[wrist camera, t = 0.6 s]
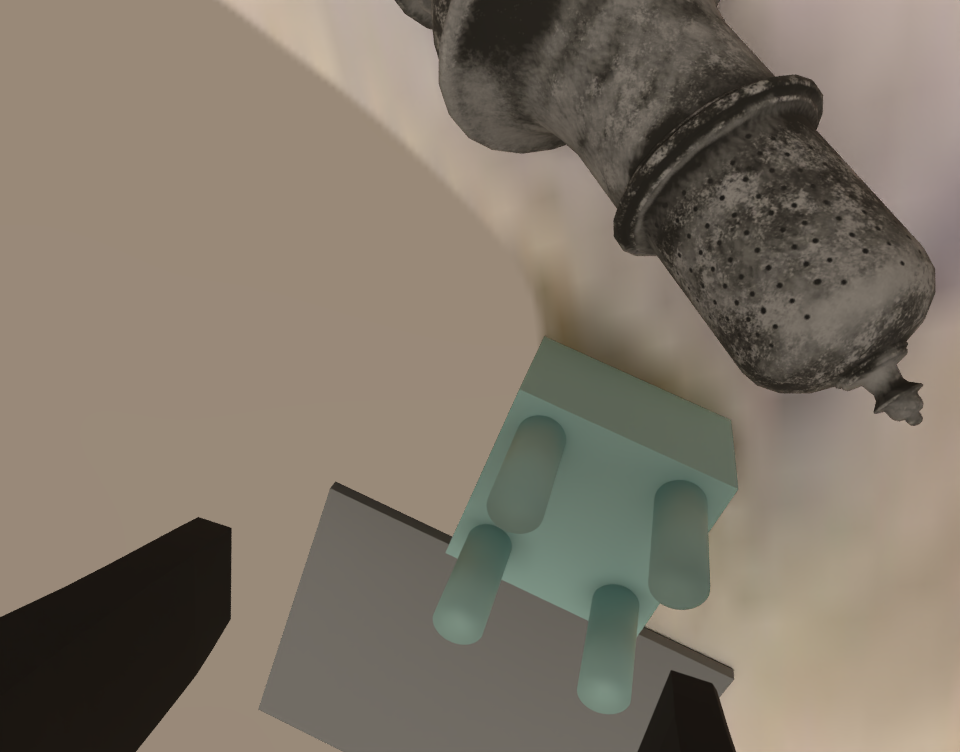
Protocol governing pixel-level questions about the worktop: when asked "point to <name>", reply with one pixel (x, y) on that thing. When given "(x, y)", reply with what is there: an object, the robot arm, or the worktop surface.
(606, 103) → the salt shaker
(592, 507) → the stool
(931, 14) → the worktop surface
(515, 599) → the mat
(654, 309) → the worktop surface
